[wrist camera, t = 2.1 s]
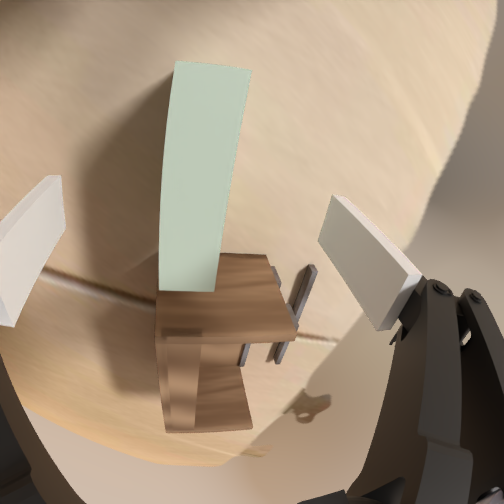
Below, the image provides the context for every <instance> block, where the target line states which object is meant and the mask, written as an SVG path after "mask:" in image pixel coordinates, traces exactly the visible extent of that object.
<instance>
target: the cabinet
mask: <svg viewBox="0 0 504 504" xmlns="http://www.w3.org/2000/svg"><path fill="white" fill-rule="evenodd" d="M317 273H318V271H317V269H316V268H315V266H314V265H308V268H307V271H306V274H305V276H304V279H303V282H302V285H301V288H300V290H299V293H298V296H297V298H296V301H295V304H294V306H293V309H292V307H291V305H290V304H285V302H284V299H283V297H282V294H281V291H280V286H281V281H280V278H279V276H278V273H277V271H276V269H275V266H270V264H269V261H268V259H267V256H266V255H258V254H234V253H220V255H219V262H218V268H217V275H216V282H215V289H214V292H197V291H165V290H159V270H158V282H157V297H156V314H155V348H156V359H157V369H158V378H159V387H160V395H161V403H162V410H163V417H164V423H165V430H166V433H204V432H223V431H236V430H247V429H252V428H253V424H252V420H251V415H250V411H249V406H248V402H247V398H246V393H245V389H244V384H243V379H242V375H241V370H240V367H244V365H245V361H246V358H247V355H248V351H249V348H250V344H251V343H271V342H280V343H279V345H278V348H277V350H276V353H275V355H274V361H275V364H280V362H281V360H282V358H283V356H284V353H285V351H286V349H287V347H288V344H289V342H290V341H295V338H296V336H297V330H298V327H299V324H298V321H299V318H300V316H301V313H302V311H303V308H304V306H305V303H306V301H307V299H308V296H309V293H310V291H311V288H312V286H313V283H314V281H315V278H316V275H317Z"/></svg>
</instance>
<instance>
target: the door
mask: <svg viewBox="0 0 504 504" xmlns="http://www.w3.org/2000/svg"><path fill="white" fill-rule="evenodd" d="M251 73H252V70H249V69H243V68H237V67H230V66H223V65H215V64H207V63H197V62H185V61H176V62H175V68H174V74H173V80H172V87H171V94H170V102H169V109H168V117H167V126H166V136H165V146H164V157H163V169H162V183H161V200H160V224H159V290H165V291H197V292H214V289H215V282H216V275H217V268H218V262H219V255H220V248H221V242H222V235H223V229H224V222H225V216H226V210H227V204H228V198H229V192H230V186H231V180H232V174H233V168H234V163H235V157H236V151H237V146H238V140H239V135H240V129H241V124H242V119H243V113H244V108H245V103H246V98H247V93H248V88H249V83H250V78H251Z"/></svg>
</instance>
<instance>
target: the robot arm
mask: <svg viewBox="0 0 504 504" xmlns="http://www.w3.org/2000/svg"><path fill="white" fill-rule="evenodd" d="M65 229H66V223H65V215H64V206H63V195H62V182H61V175H47V176H46V177H45V178H44V179H43V180H42V181H41V182H40V183H38V184H37V185H36V186H35V187H34V188H33V189H32V190H31V191H30V192H29V193H28V194H27V195H26V196H25V197H24V198H23V199H22V200H21V201H20V202H19V203H18V204H17V205H16V206H15V207H14V208H13V209H12V210H11V211H10V212H9V213H8V214H7V215H6V216H5V217H4V219H3V220H2V221H1V222H0V325H3V326H9V327H15V324H16V322H17V320H18V317H19V315H20V313H21V311H22V308H23V306H24V304H25V302H26V300H27V298H28V296H29V294H30V292H31V290H32V288H33V286H34V284H35V282H36V280H37V278H38V276H39V274H40V272H41V270H42V268H43V267H44V265H45V263H46V261H47V259H48V258H49V256H50V254H51V252H52V251H53V249H54V247H55V245H56V244H57V242H58V240H59V239H60V237H61V235H62V234H63V232H64V231H65ZM318 242H319V244H320V245H321V247H322V248H323V250H324V251H325V253H326V254H327V255H328V257H329V258H330V260H331V261H332V263H333V264H334V266H335V267H336V269H337V270H338V272H339V273H340V275H341V276H342V278H343V279H344V281H345V282H346V284H347V285H348V287H349V288H350V290H351V292H352V293H353V295H354V296H355V298H356V299H357V301H358V302H359V304H360V306H361V307H362V309H363V310H364V312H365V313H366V315H367V317H368V318H369V320H370V321H371V323H372V325H373V326H374V328H375V330H376V331H383V330H390V329H391V328H392V326H393V325H394V323H395V322H396V320H397V319H398V318H399V320H400V322H401V323H402V325H401V326H400V328H399V329H398V331H397V333H396V334H395V336H394V337H393V339H392V340H391V342H390V344H389V345H392V344H393V342H395V341H396V345H395V350H394V355H393V360H392V366H391V370H390V375H389V380H388V384H387V388H386V393H385V397H384V401H383V405H382V409H381V412H380V416H379V420H378V423H377V427H376V430H375V433H374V437H373V440H372V443H371V446H370V449H369V452H368V455H367V458H366V461H365V464H364V467H363V469H362V471H361V473H360V475H359V476H358V478H357V479H356V480H355V481H354V482H353V483H352V485H351V486H350V488H349V490H348V491H347V493H346V494H345V491H344V490H341V491H338V492H334V493H331V494H328V495H324V496H321V497H317V498H313V499H310V500H306V501H302V502H300V503H297V504H504V338H503V336H502V334H501V332H500V330H499V327H498V325H497V323H496V321H495V319H494V317H493V315H492V313H491V311H490V309H489V307H488V305H487V303H486V301H485V300H484V298H483V297H482V296H481V294H480V293H478V292H477V291H476V290H472V289H468V288H467V289H465V290H464V291H463V293H462V295H461V297H456V296H454V295H453V293H452V291H451V290H450V289H449V288H448V287H447V286H446V285H445V284H443V283H442V282H440V281H437V280H434V279H430V280H427V279H426V278H425V277H424V276H423V275H422V273H421V272H420V271H419V270H418V269H417V268H416V267H415V266H414V265H413V264H412V263H411V261H410V260H409V259H408V258H407V257H406V256H405V255H404V254H403V253H402V252H401V251H400V250H399V249H398V248H397V247H396V246H395V245H394V244H393V243H392V242H391V241H390V239H389V238H388V237H387V236H386V235H385V234H384V233H383V232H382V231H381V230H380V229H379V228H378V227H377V226H376V225H375V224H374V223H372V222H371V221H370V220H369V219H368V218H367V217H366V216H365V215H364V214H363V213H362V212H361V211H360V210H359V209H358V208H357V207H356V206H355V205H354V204H353V203H351V202H350V201H349V200H348V199H347V198H346V197H345V196H339V195H332V197H331V200H330V204H329V207H328V210H327V213H326V217H325V220H324V223H323V226H322V229H321V232H320V235H319V238H318ZM469 331H471V338H470V339H469V340H468V342H467V343H466V344H465V345H463V342H462V340H463V339H464V338H465V337H466V335H467V334H468V332H469ZM0 504H86V503H85V502H84V501H83V500H82V499H81V498H80V497H79V496H78V495H77V494H76V492H75V491H74V490H73V489H72V487H71V486H70V485H69V483H68V482H67V480H66V479H65V478H64V476H63V475H62V473H61V472H60V471H59V469H58V467H57V466H56V465H55V463H54V462H53V460H52V458H51V457H50V455H49V454H48V452H47V450H46V449H45V448H44V445H43V444H42V442H41V440H40V439H39V437H38V435H37V433H36V432H35V430H34V428H33V426H32V424H31V422H30V421H29V419H28V417H27V415H26V413H25V411H24V409H23V407H22V405H21V403H20V401H19V398H18V396H17V394H16V392H15V390H14V387H13V385H12V383H11V380H10V378H9V375H8V373H7V370H6V368H5V365H4V363H3V360H2V357H1V354H0Z"/></svg>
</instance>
